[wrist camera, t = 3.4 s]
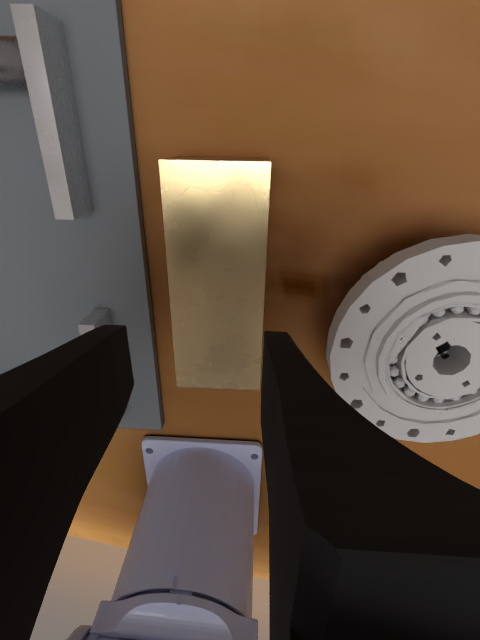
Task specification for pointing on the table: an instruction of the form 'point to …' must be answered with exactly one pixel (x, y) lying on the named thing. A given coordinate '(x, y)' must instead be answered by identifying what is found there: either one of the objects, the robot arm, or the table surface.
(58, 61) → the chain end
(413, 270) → the mechanical component
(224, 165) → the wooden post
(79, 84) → the join mat
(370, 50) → the table surface
